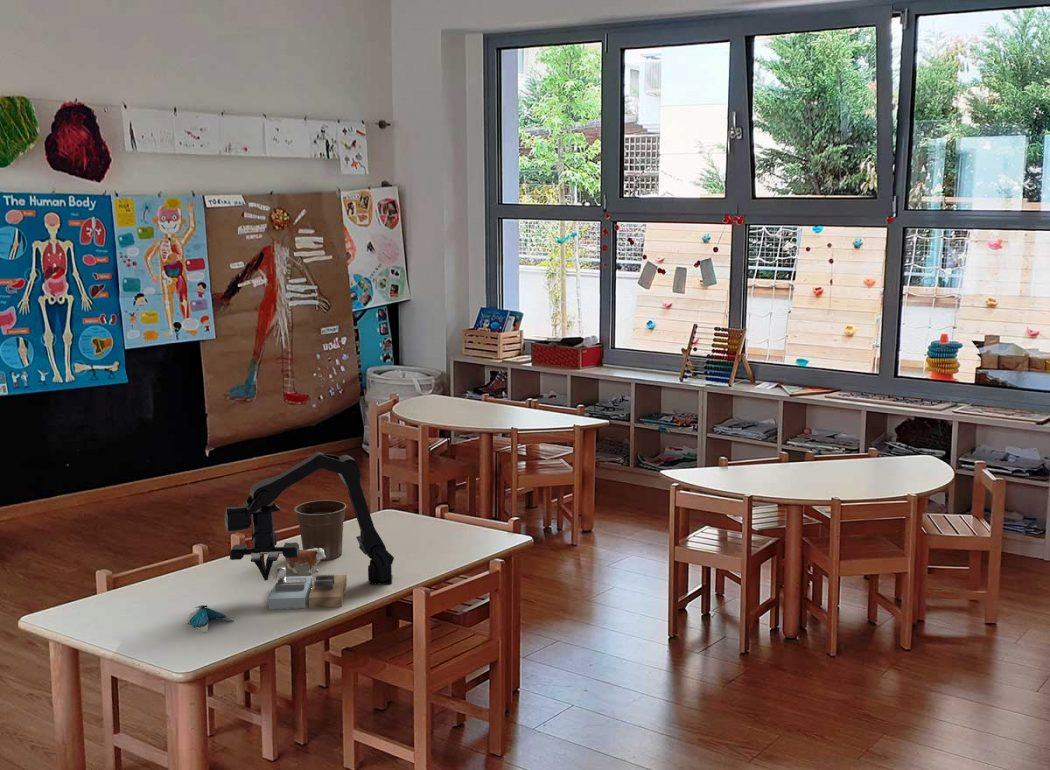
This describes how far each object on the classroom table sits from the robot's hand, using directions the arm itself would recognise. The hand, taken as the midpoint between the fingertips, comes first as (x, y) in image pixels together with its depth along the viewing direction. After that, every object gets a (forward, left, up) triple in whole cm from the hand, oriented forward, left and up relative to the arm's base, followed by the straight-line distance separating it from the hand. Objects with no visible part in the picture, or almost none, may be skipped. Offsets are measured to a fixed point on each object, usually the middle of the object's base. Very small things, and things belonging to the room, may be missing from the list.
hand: (266, 579), depth 308 cm
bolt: (-7, 0, -2) cm, 7 cm away
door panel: (-7, 0, -5) cm, 9 cm away
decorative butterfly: (+13, +18, -6) cm, 23 cm away
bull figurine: (-9, -21, -6) cm, 23 cm away
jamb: (-17, 0, -5) cm, 18 cm away
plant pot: (-12, -37, -6) cm, 39 cm away
